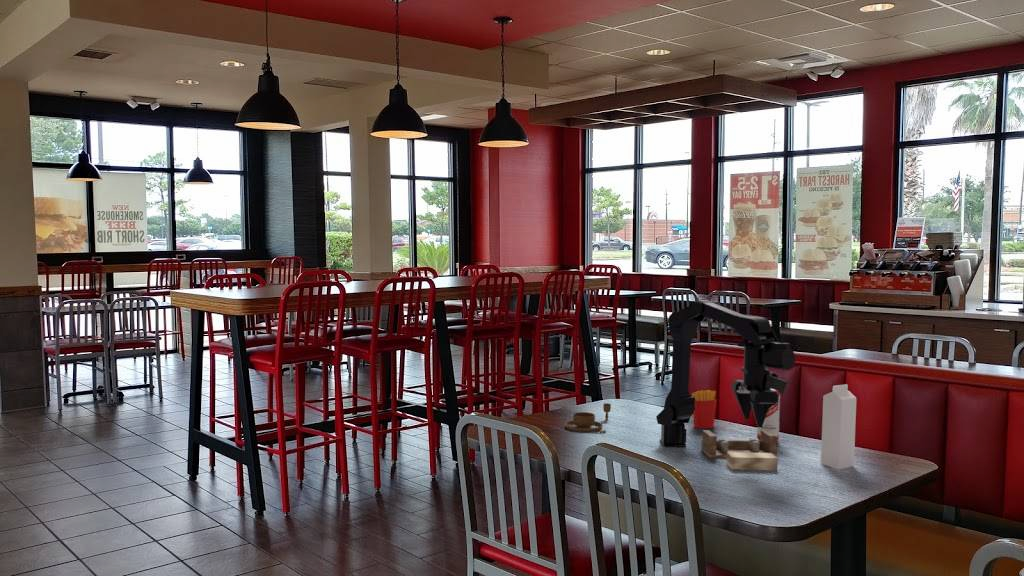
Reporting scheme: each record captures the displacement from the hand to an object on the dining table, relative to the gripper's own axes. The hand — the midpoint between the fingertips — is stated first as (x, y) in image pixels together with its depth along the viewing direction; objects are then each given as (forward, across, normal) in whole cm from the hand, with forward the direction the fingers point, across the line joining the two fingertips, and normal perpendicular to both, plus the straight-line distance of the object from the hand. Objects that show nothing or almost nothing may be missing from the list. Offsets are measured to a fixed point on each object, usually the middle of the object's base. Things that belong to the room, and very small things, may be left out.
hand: (753, 423), depth 212 cm
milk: (+12, +1, -24) cm, 27 cm away
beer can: (+12, +27, -15) cm, 33 cm away
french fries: (+12, +46, -1) cm, 47 cm away
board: (+12, 0, 0) cm, 12 cm away
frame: (+12, +13, -1) cm, 18 cm away
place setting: (+12, +46, +35) cm, 59 cm away
